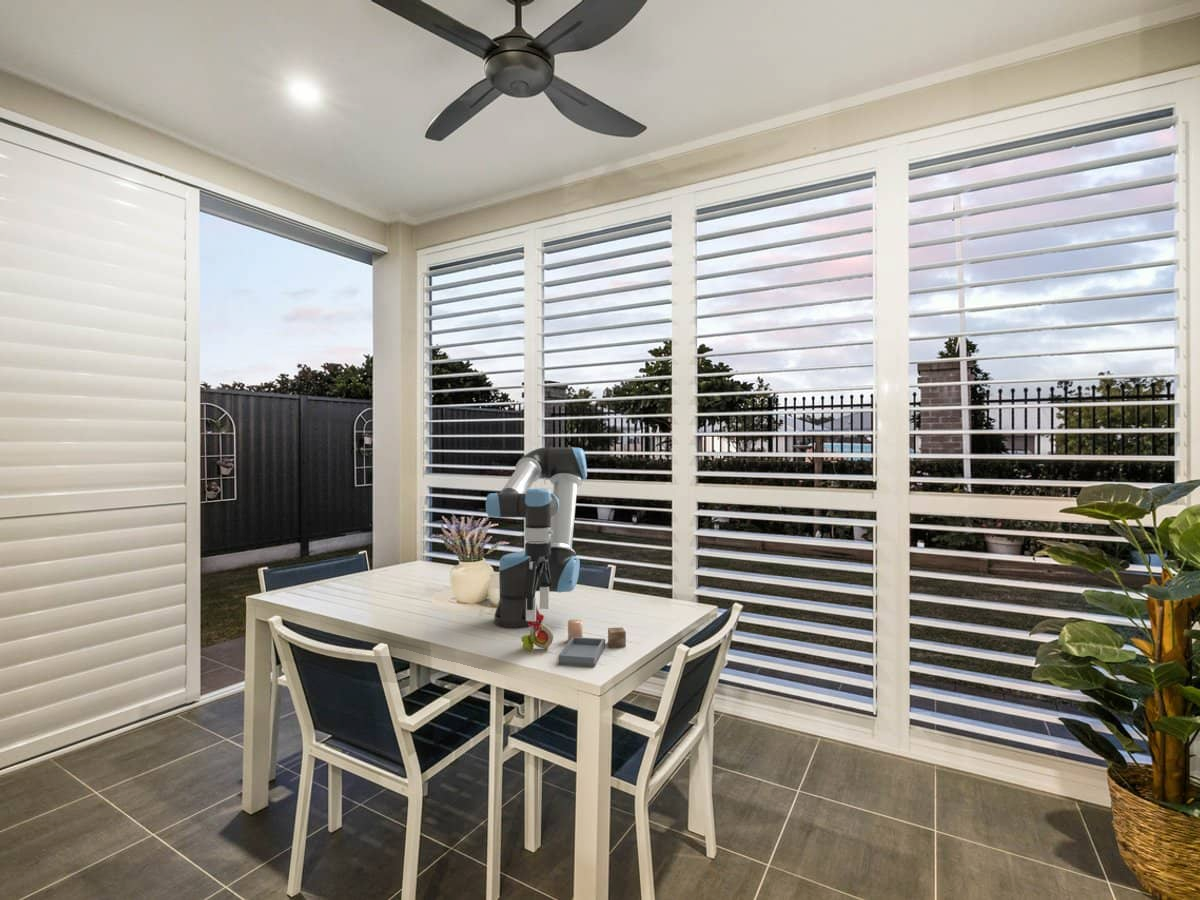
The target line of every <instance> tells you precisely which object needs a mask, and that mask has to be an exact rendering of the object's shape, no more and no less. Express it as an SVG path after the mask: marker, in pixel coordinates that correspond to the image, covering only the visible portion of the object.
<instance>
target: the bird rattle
mask: <svg viewBox="0 0 1200 900" xmlns="http://www.w3.org/2000/svg"><path fill="white" fill-rule="evenodd" d="M544 619H545V615H544V614H541V613H540V612H539V610H538V611H537V612H536V621H528V626H527V627H531V626H532V627H531V628H530V630H529V634H528V635H527V634H525V635H522V636H521V640H520V641H521V642H522V649H523V650H526V649H527V650H528V651H529V652H532V651H533V650H534V646H536V647H538V648H540V649H543V650H544V651H547V650H548V649H549V647H550V646H551V644H552V643H553V642H554V633H553V631H552V630H551V628H550V627H549V626H548V625H546V624H544V623H542V622H543V621H544Z"/></svg>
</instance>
